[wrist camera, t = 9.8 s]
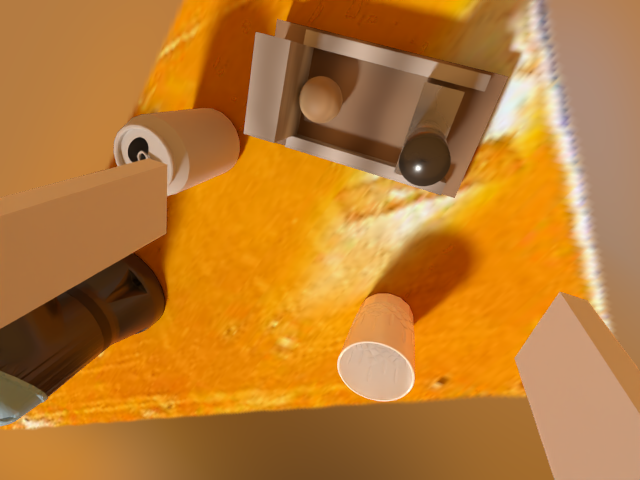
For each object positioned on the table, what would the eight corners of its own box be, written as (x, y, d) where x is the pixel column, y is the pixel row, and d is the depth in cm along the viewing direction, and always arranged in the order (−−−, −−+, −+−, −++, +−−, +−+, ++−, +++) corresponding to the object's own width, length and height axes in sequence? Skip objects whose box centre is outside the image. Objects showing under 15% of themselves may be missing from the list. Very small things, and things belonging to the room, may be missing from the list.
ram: (398, 161, 33) (376, 214, 20) (425, 82, 30) (421, 80, 16) (428, 170, 33) (426, 231, 19) (459, 90, 29) (483, 97, 16)
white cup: (375, 277, 42) (360, 327, 33) (431, 310, 42) (431, 370, 33) (345, 318, 46) (324, 374, 37) (396, 349, 45) (387, 413, 37)
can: (210, 92, 38) (128, 95, 28) (256, 144, 39) (192, 166, 29) (177, 137, 42) (92, 155, 31) (219, 184, 43) (151, 216, 32)
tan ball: (306, 115, 35) (287, 117, 31) (315, 72, 33) (296, 69, 29) (342, 126, 34) (326, 130, 30) (353, 83, 32) (338, 81, 28)
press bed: (268, 135, 38) (231, 146, 31) (285, 22, 33) (246, 6, 26) (453, 192, 35) (458, 219, 28) (503, 77, 30) (525, 75, 23)
